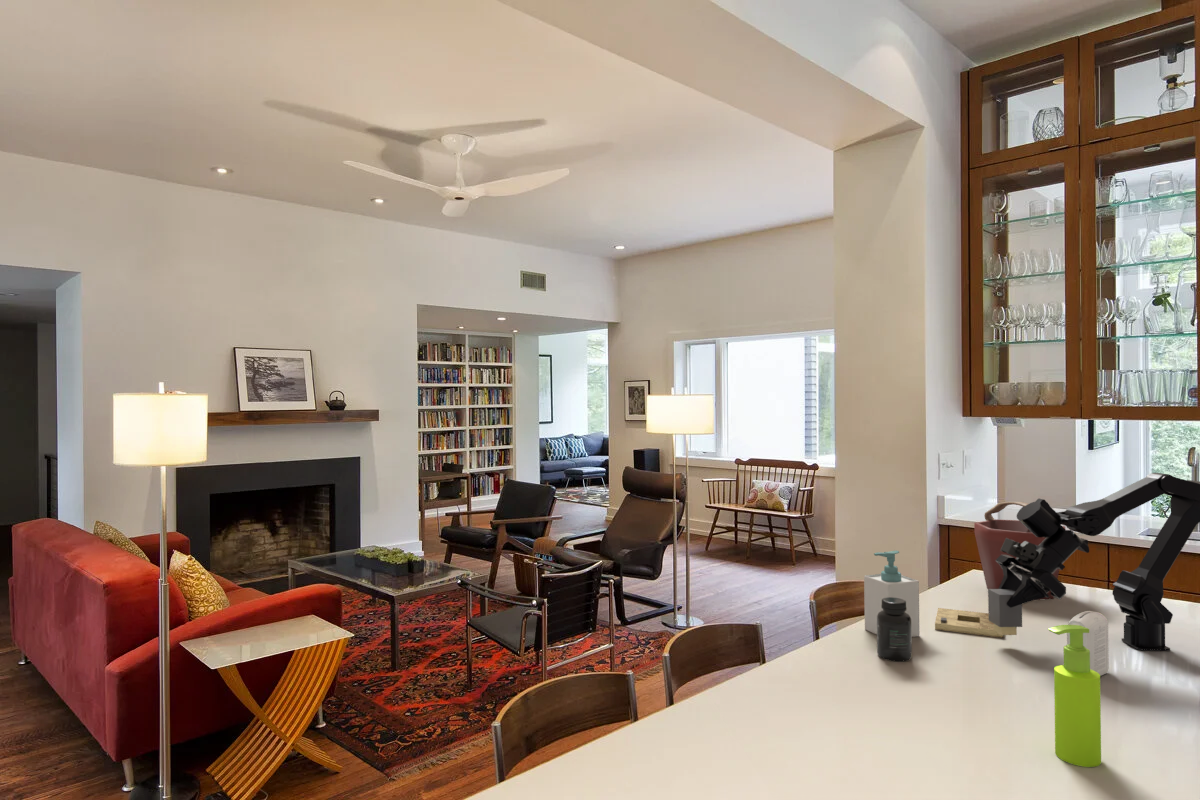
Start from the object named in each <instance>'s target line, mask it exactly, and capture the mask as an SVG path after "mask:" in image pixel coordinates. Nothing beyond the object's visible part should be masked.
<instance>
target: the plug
mask: <svg viewBox="0 0 1200 800" xmlns="http://www.w3.org/2000/svg"><path fill="white" fill-rule="evenodd" d="M1014 593H1015V591H1013V590H1011V589H988V588H987V596H988V599H987V601H988V602H987V604H988V605H987V607H988V608H987V609H988V613H989V621H991V622H992V623H994V631H996V632H998V633H999V634H1001V635H1003V636H1017V634H1018V632H1017V631H1018V630H1017V628H1022V627H1023V604H1020V605H1017V606H1014V607H1011V608H1010V607H1009V606H1008V605H1007V602H1008V601H1009V599H1010V598H1011V597H1012V595H1013V594H1014Z"/></svg>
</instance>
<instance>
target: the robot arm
mask: <svg viewBox="0 0 1200 800" xmlns="http://www.w3.org/2000/svg"><path fill="white" fill-rule="evenodd" d="M1162 495H1166V496H1170V514H1169V516H1168V518H1167V519H1166V521H1165V522H1164V524H1163V525H1162V527H1161V529H1160V530H1159V532H1158V534H1157V535H1156V537H1155V539H1154V540H1153V542H1152V543H1151V545H1150V547H1149V549H1148V550H1147V552H1146V554H1145V555H1144V556H1143V558H1142V559H1141V561H1140V563H1139V565H1138V566H1137V567H1136V568H1135V569H1134V570H1132V571H1127V570H1121V572H1120V573H1119V574H1118V578H1117V579H1116V581H1115V582H1113V583H1112V586H1114V587H1113V590H1112V594H1111V595H1112V596H1113V600H1114V601H1115V603H1116V604H1117V605H1118V606H1119V609H1120V611H1121V613H1123V614H1126V615H1125V622H1124V623H1123V637H1122V638H1121V641H1122V642H1123V643H1125V644H1127V645H1129V646H1131V647H1133V648H1135V649H1137V650H1138V651H1162V652H1163V651H1168V652H1169V651H1171V647H1169V646H1166V624H1168V625H1169V624H1171V622H1172V619H1173V616H1174V615H1173V613H1172V612H1171V611H1170V610H1169V609H1168V608H1167V607H1166V606H1165V605H1164V604H1163V603H1162V600H1163V598H1164V579H1165V578H1166V577H1167V574H1168V573H1169V572H1170V570H1171V568H1172V566H1173V565H1174V563H1175V561H1176V559H1177V558H1178V556H1179V555H1180V553H1181V552H1182V550H1183V548H1184V547H1185V545H1186V543H1187V541H1188V540H1189V538H1190V537H1191V535H1192V534H1193V531H1194V530H1195V528H1196V527H1197V526H1198V524H1199V523H1200V481H1199V480H1190V479H1184V478H1179V477H1176V476H1174V475H1171V474H1169V473H1162V472H1151V473H1149V474H1147V475H1146V476H1145V477H1143V478H1141V479H1140V480H1137V481H1135V482H1134V483H1131V484H1129V485H1127V486H1126V487H1123V488H1122V489H1121V488H1120V490H1118V491H1115V492H1113V493H1111V494H1109V495H1108V496H1107V495H1106V496H1105V497H1103V498H1100V499H1098V500H1093V501H1087V502H1082V503H1079V504H1075V505H1072V506H1069V507H1068V508H1066V510H1065V511H1059V512H1058V511H1056V510H1054V508H1052V507H1051V505H1050V504H1049V503H1048V501H1046V500H1045V499H1043V498H1037V499H1036V500H1035V501H1033V502H1029V504H1028V505H1026V506H1025V507H1023V506H1021V508H1020V509H1019V510H1018V512H1017V514H1016V519H1017V520H1019V521H1020V522H1021V523H1022V524H1023V525H1024V526H1026V527H1027V528H1028V529H1029V530H1030V531H1031V532H1032V533H1033V534H1034V535H1035V536H1036V537H1045V539H1044V540H1043V541H1042V542H1041V543H1040V544H1039V545H1035V544H1032V543H1030V542H1027V541H1024V542H1023V543H1018V542H1016V541H1013V540H1010V539H1008V538H1006V539H1005V541H1004V543H1003V545H1002V548H1001V550H1000V551H1002V552H1004V553H1005V552H1006V553H1007V554H1010V555H1012V556H1014V557H1017V558H1016V559H1015V558H1014V557H1011V556H1009V555H1000V556H999V557H998V558H997V559H996V562H997V563H998V564H999V565H1000V566H1001V568H1002V569H1003V575H1004V576H1003V579H1002V582H1001V584H1000V586H999V588H998V589H1011V590H1013V591H1015V593H1014V594H1013V595H1012V597H1011V598H1010V599H1009V601H1008V602H1007V605H1008V606H1009V607H1010V608H1011V607H1014V606H1017V605H1020V604H1022V605H1023V604H1026V603H1029V602H1032V601H1033V602H1034V601H1037V599H1040V598H1044V597H1047V598H1048V597H1049V595H1048V594H1047V593H1048V592H1049V591H1051V595H1052V596H1053V597H1054V599H1058V600H1061V599H1062V598H1063V597H1064V596H1065V595H1066V594H1067V587H1066V585H1064V584H1063V583H1062V582H1061V581H1060V579H1057V578H1056V577H1055V576H1054V575H1053V573H1054V572H1055V571H1056V570H1057V569H1059V571H1063V570H1064V569H1065V568H1066V566H1065V564H1064V563H1065V562H1066V561H1067V560H1068V559H1069V558H1070V557H1071V555H1073V554H1074V553H1075V552H1076V551H1077V550H1078V551H1080V552H1083V553H1087V554H1088V553H1090V546H1089V540H1088V539H1086V538H1082V537H1079V536H1078V535H1077V534H1076V533H1079V534H1082V535H1086V536H1090V537H1095V536H1098V535H1100V534H1102V533H1104V531H1106V530H1108V529H1109V528H1110V527H1111V526H1113V523H1114V521H1115V520H1116V519H1117V518H1119V517H1121V516H1122V515H1125V514H1127V513H1128V512H1130V511H1132V510H1134V509H1137V508H1138V507H1140V506H1143V505H1144V504H1146V503H1149V502H1150V501H1152V500H1154V499H1157V498H1159V497H1160V496H1162ZM1062 526H1065V529H1064V528H1063V527H1062ZM1066 528H1067V529H1066ZM1075 532H1076V533H1075ZM1020 563H1021V564H1022V565H1021V564H1020Z"/></svg>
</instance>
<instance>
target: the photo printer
mask: <svg viewBox="0 0 1200 800" xmlns="http://www.w3.org/2000/svg"><path fill="white" fill-rule="evenodd" d="M1067 625H1080V626H1083V627H1085V628H1088V629H1089V633H1083V646H1084V647H1086V648H1087V649H1089V650H1090V669H1091V670H1094V671H1096V672H1097V673H1099V674H1100V677H1101V676H1104V675H1106V674H1108V672H1109V669H1110V662H1109V661H1110V659H1109V657H1110V654H1109V653H1110V652H1109V651H1110V650H1109V649H1110V648H1109V645H1110V644H1109V641H1110V640H1109V621H1108V619H1107V617H1106V616H1105V615H1104V614H1102V613H1100V612H1098V611H1093V610H1085V611H1082V612H1080V613H1077V614H1076V615H1074V616H1073V617H1072V618H1071V619H1070V620H1069V622H1068V623H1067ZM1066 641H1067V642H1066V645H1068V644H1070V633H1066Z"/></svg>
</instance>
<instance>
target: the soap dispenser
mask: <svg viewBox="0 0 1200 800" xmlns="http://www.w3.org/2000/svg"><path fill="white" fill-rule="evenodd" d="M1047 630H1048V631H1049V632H1051V633H1053V634H1056V635H1058V636H1059V635H1064V634H1067V633H1070V644H1068V645H1067V644H1066V645H1064V646H1063V650H1062V651H1063V664H1060V665H1056V666H1054V668H1053V672H1054V673H1053V674H1054V676H1053V682H1054V685H1053V686H1054V688H1053V689H1054V696H1053V697H1054V754H1055V755H1056V757H1058V759H1060V760H1062V761H1064V762H1066V763H1068V764H1071V765H1073V766H1078V767H1085V768H1092V767H1093V768H1095V767H1100V765H1101V764H1102V728H1101V727H1102V723H1101V722H1102V718H1101V715H1102V714H1101V706H1102V705H1101V701H1102V700H1101V676H1100V674H1099V673H1097V672H1096V671H1094V670H1091V669H1090V650H1089V649H1087V648H1086V647H1084V646H1083V633H1089V629H1088V628H1085V627H1083V626H1080V625H1068V624H1058V625H1055V626H1052V627H1049V628H1047Z"/></svg>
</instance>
